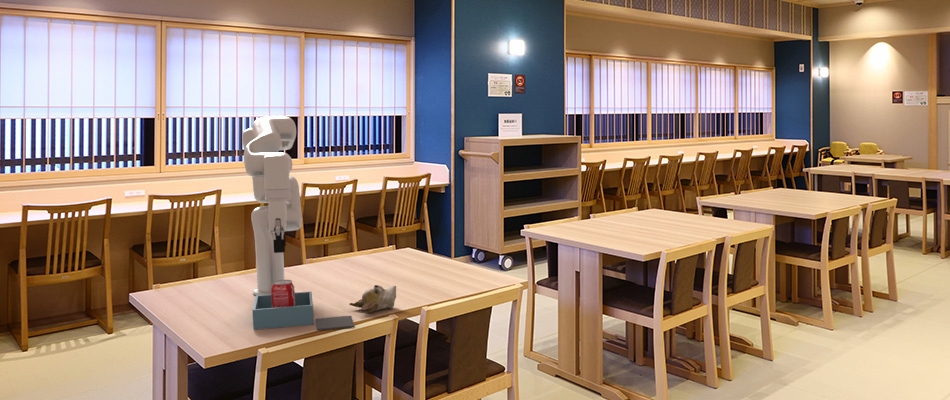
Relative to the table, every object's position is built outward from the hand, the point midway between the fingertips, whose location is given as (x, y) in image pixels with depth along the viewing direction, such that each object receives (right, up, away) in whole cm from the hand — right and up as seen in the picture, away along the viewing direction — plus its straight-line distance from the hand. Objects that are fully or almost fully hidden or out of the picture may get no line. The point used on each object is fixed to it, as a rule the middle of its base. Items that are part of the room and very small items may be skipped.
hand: (280, 249), depth 213 cm
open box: (0, -22, +3) cm, 22 cm away
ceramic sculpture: (+28, -21, +12) cm, 37 cm away
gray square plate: (+17, -23, -3) cm, 29 cm away
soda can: (0, -22, +3) cm, 23 cm away
